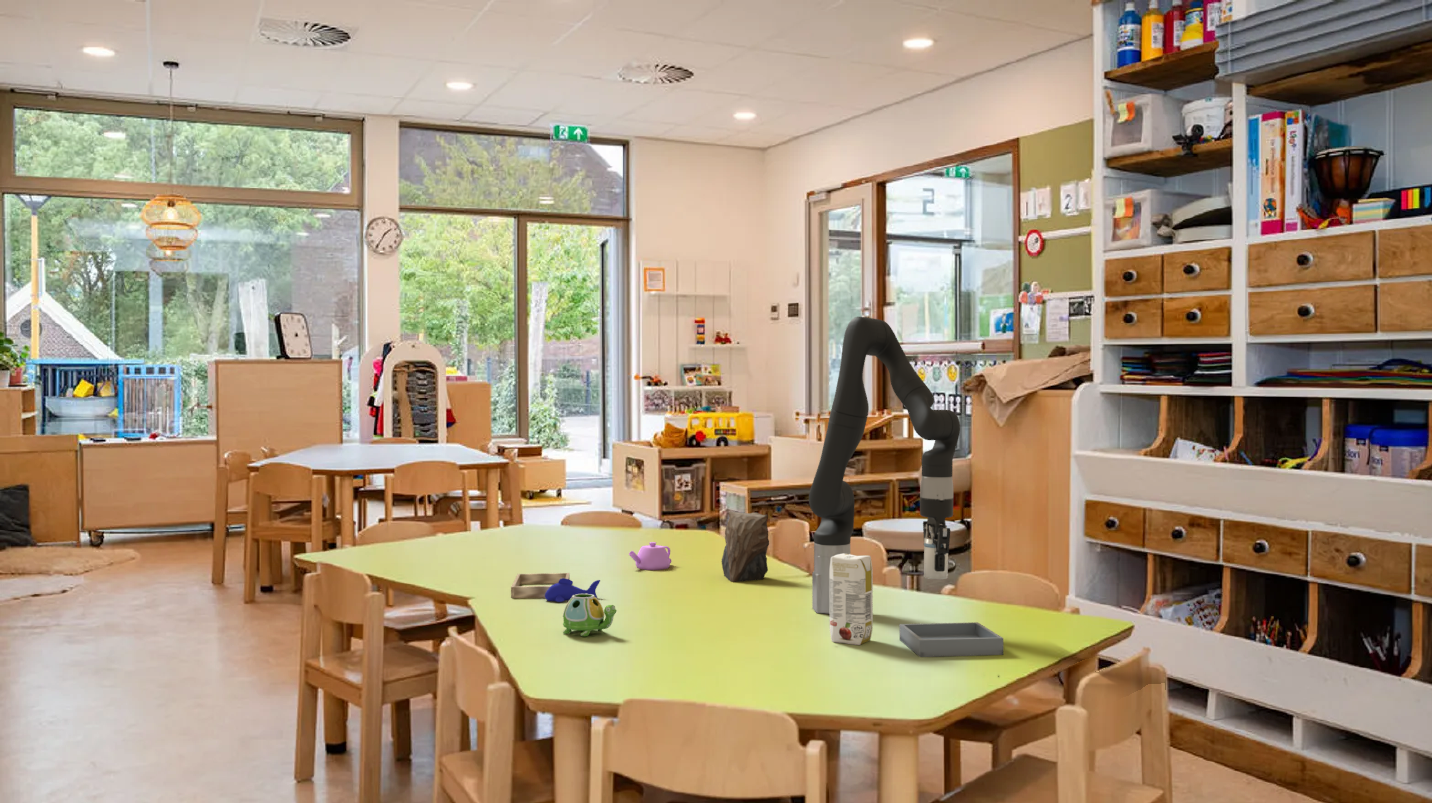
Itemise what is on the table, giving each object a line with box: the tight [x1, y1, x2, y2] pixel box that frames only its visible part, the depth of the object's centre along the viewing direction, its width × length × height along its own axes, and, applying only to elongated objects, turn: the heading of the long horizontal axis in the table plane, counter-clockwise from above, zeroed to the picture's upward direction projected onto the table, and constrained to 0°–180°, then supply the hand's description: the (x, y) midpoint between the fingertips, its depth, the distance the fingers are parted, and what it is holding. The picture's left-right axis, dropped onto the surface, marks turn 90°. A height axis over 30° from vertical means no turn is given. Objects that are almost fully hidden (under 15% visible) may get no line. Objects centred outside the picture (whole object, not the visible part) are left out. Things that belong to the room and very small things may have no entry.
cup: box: [923, 536, 949, 580], centre depth 254 cm, size 6×6×9 cm
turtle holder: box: [562, 594, 617, 637], centre depth 253 cm, size 9×13×9 cm
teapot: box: [628, 541, 672, 571], centre depth 338 cm, size 10×15×9 cm
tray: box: [899, 621, 1004, 658], centre depth 238 cm, size 18×16×4 cm
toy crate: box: [510, 572, 571, 599], centre depth 302 cm, size 15×22×4 cm
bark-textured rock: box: [721, 511, 770, 583], centre depth 323 cm, size 13×13×20 cm
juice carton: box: [829, 553, 874, 646], centre depth 244 cm, size 8×9×19 cm
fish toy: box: [544, 578, 601, 603], centre depth 289 cm, size 15×8×7 cm, turn 112°
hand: (935, 568), depth 254 cm, fingers closed on cup, 5 cm apart
